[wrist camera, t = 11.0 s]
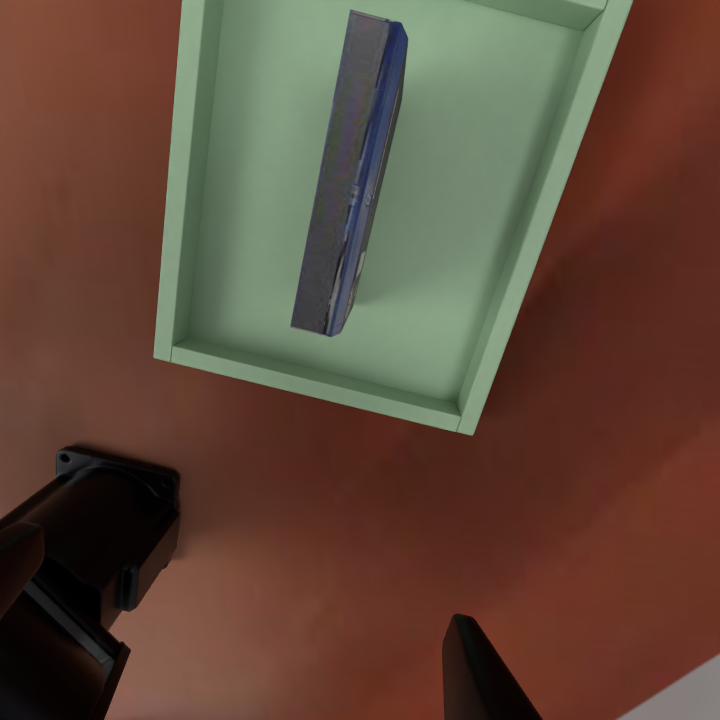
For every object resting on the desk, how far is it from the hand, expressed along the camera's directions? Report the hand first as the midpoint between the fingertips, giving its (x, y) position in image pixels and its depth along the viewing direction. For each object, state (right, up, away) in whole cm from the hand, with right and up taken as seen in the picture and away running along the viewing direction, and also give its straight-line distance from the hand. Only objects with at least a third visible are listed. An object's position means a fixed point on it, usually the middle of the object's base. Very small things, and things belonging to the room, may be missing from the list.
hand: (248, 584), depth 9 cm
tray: (+2, +11, +8) cm, 14 cm away
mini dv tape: (+2, +11, +8) cm, 14 cm away
